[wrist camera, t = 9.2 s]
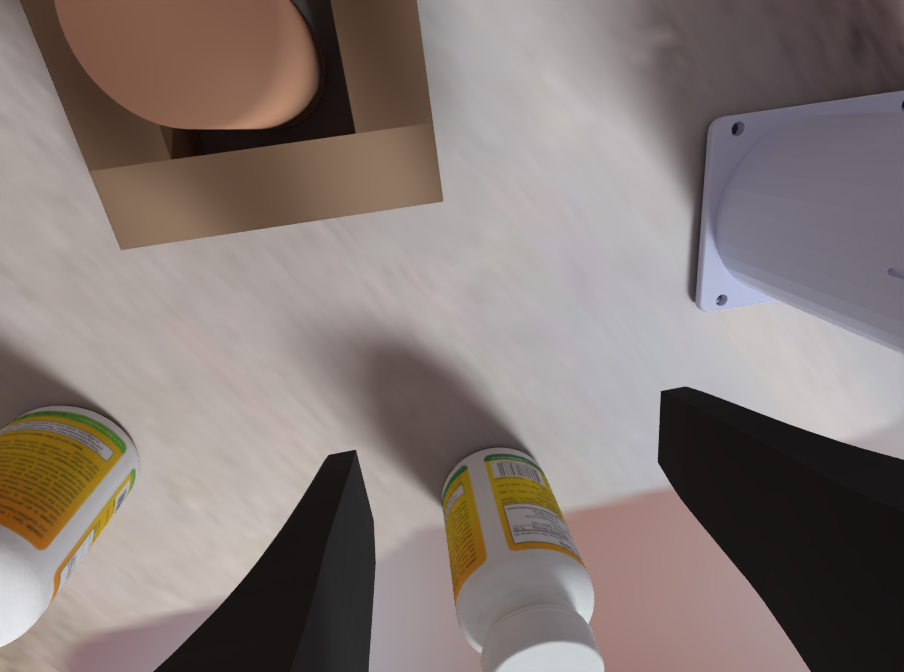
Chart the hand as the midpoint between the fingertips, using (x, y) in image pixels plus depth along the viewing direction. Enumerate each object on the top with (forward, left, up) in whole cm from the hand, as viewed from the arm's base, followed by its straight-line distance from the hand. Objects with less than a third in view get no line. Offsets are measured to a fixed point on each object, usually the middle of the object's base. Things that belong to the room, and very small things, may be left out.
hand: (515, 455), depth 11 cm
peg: (+5, -10, -10) cm, 15 cm away
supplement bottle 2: (-1, +10, -11) cm, 15 cm away
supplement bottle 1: (+17, +4, -11) cm, 21 cm away
